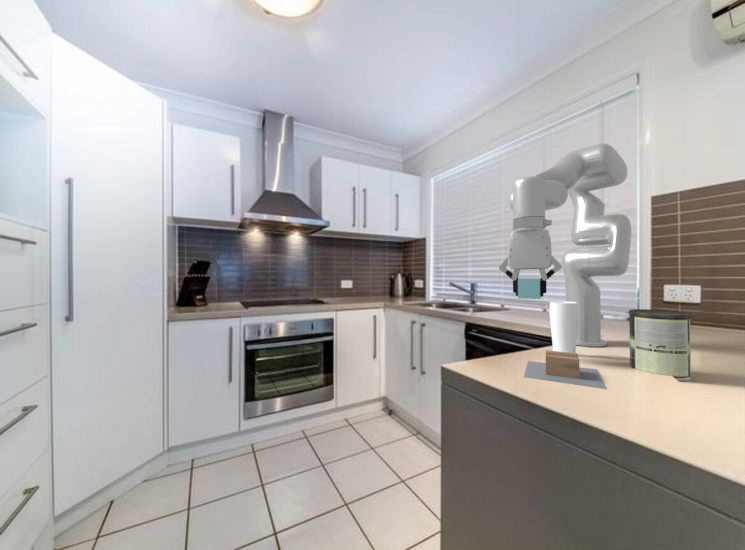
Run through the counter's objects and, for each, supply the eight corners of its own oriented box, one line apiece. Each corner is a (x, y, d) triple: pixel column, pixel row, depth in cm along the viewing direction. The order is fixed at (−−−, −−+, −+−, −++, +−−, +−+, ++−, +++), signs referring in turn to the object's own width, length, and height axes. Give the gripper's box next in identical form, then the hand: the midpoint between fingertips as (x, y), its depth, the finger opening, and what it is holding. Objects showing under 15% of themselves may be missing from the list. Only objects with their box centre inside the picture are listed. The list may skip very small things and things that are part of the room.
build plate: (528, 364, 76) (528, 360, 76) (597, 373, 69) (597, 369, 69) (523, 381, 64) (523, 376, 64) (607, 394, 57) (606, 389, 57)
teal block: (519, 297, 83) (519, 278, 83) (540, 297, 80) (540, 278, 80) (517, 298, 78) (517, 278, 79) (540, 298, 76) (539, 278, 76)
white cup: (544, 355, 86) (543, 301, 86) (559, 352, 89) (559, 300, 89) (568, 360, 80) (568, 303, 80) (584, 357, 82) (583, 302, 83)
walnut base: (546, 367, 71) (546, 350, 71) (577, 371, 68) (577, 353, 68) (545, 374, 65) (545, 356, 66) (579, 379, 62) (579, 359, 62)
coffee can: (618, 366, 75) (617, 309, 75) (664, 367, 74) (663, 309, 74) (652, 380, 64) (652, 314, 64) (706, 382, 63) (705, 314, 63)
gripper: (567, 225, 78) (567, 295, 78) (496, 230, 87) (497, 294, 87) (568, 220, 72) (568, 297, 72) (491, 227, 81) (492, 295, 81)
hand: (529, 295), depth 79 cm, fingers closed on teal block, 5 cm apart
